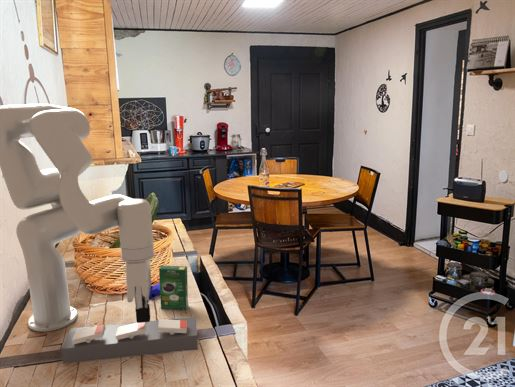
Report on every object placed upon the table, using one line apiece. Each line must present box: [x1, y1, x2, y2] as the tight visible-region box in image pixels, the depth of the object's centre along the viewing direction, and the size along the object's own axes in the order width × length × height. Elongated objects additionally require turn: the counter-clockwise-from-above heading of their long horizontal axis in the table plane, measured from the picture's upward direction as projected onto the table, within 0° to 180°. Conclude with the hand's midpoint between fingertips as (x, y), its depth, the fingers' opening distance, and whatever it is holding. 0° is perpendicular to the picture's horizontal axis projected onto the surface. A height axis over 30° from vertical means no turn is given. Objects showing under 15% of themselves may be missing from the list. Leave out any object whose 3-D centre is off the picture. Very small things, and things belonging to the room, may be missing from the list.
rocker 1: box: [72, 323, 106, 344], centre depth 105 cm, size 4×7×2 cm, turn 99°
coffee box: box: [158, 264, 189, 311], centre depth 127 cm, size 8×3×13 cm, turn 86°
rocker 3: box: [158, 318, 187, 335], centre depth 108 cm, size 4×7×2 cm, turn 99°
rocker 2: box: [116, 321, 147, 340], centre depth 107 cm, size 4×7×2 cm, turn 99°
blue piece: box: [148, 281, 160, 301], centre depth 139 cm, size 12×4×6 cm, turn 142°
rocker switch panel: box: [60, 316, 199, 364], centre depth 109 cm, size 9×32×4 cm, turn 99°
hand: (143, 320), depth 107 cm, fingers closed
